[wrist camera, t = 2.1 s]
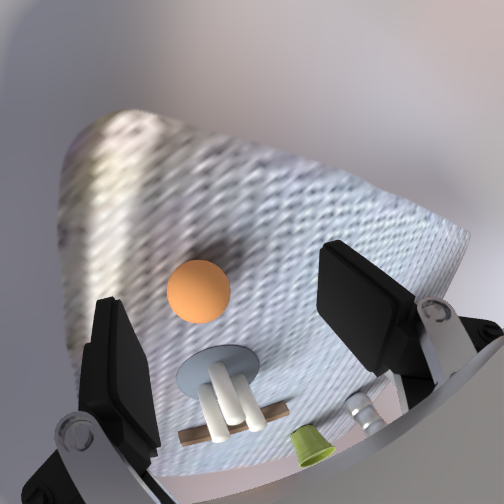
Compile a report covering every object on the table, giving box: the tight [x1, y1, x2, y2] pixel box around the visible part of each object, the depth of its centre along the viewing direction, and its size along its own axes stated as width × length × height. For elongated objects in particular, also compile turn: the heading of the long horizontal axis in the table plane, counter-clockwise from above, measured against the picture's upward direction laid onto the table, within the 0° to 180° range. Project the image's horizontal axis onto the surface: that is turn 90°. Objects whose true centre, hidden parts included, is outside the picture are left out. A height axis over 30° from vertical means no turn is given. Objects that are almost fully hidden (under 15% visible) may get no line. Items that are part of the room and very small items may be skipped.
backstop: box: [178, 401, 289, 446], centre depth 43 cm, size 20×2×2 cm, turn 94°
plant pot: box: [291, 425, 336, 468], centre depth 53 cm, size 9×9×9 cm
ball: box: [167, 260, 230, 323], centre depth 26 cm, size 6×6×6 cm
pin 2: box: [230, 374, 267, 432], centre depth 35 cm, size 2×2×9 cm
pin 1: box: [197, 384, 231, 443], centre depth 34 cm, size 2×2×9 cm
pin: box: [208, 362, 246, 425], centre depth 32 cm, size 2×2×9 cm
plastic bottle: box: [344, 392, 388, 438], centre depth 49 cm, size 6×7×20 cm
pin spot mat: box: [176, 345, 259, 400], centre depth 37 cm, size 12×12×1 cm
